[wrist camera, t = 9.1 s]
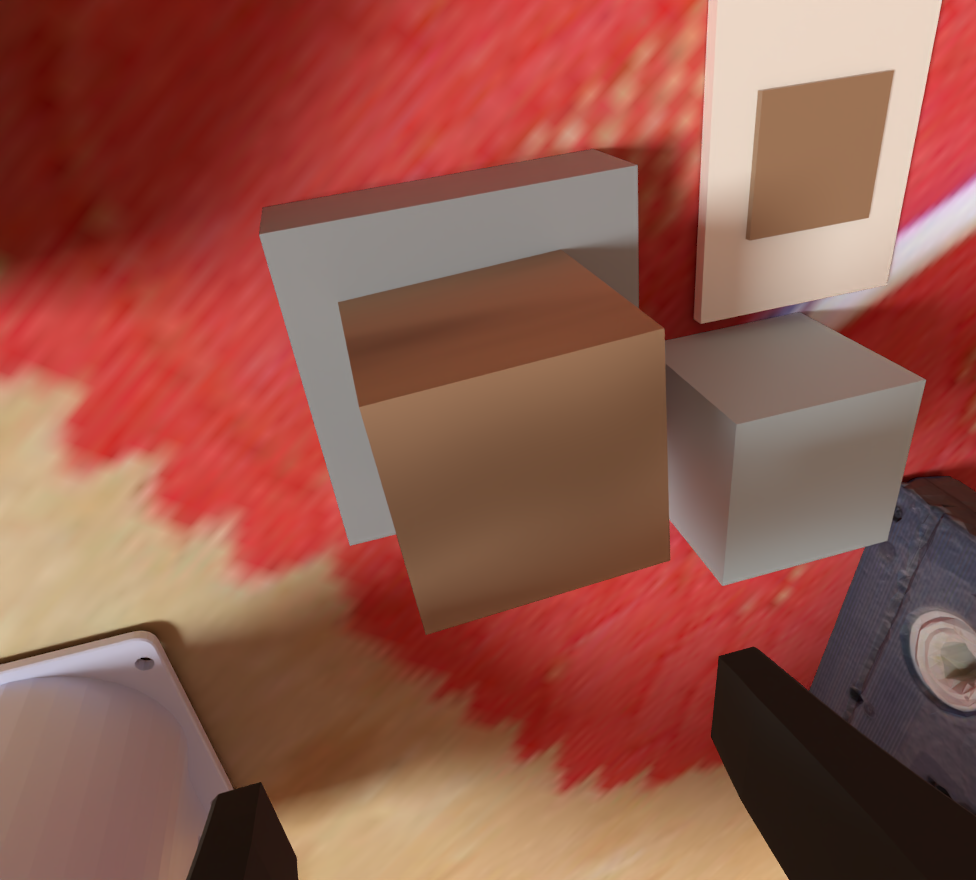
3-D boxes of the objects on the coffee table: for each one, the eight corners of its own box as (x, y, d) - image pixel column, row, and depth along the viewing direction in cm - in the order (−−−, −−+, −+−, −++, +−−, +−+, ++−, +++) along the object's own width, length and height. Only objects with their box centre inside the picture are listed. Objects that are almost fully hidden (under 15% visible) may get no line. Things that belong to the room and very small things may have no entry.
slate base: (598, 421, 22) (640, 472, 19) (342, 483, 20) (349, 546, 18) (586, 146, 17) (637, 165, 15) (263, 203, 16) (259, 234, 14)
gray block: (780, 450, 24) (886, 540, 19) (642, 484, 23) (722, 585, 19) (798, 310, 21) (926, 379, 17) (642, 344, 20) (736, 424, 16)
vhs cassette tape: (810, 781, 35) (976, 1015, 27) (759, 792, 34) (913, 1036, 26) (955, 467, 26) (1271, 669, 18) (890, 473, 25) (1188, 685, 17)
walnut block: (580, 438, 18) (670, 560, 14) (391, 490, 17) (426, 635, 13) (560, 249, 15) (664, 328, 11) (338, 302, 15) (359, 407, 11)
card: (877, 281, 21) (892, 287, 20) (693, 319, 20) (704, 326, 20) (936, -40, 17) (956, -43, 16) (709, -11, 16) (722, -12, 15)
